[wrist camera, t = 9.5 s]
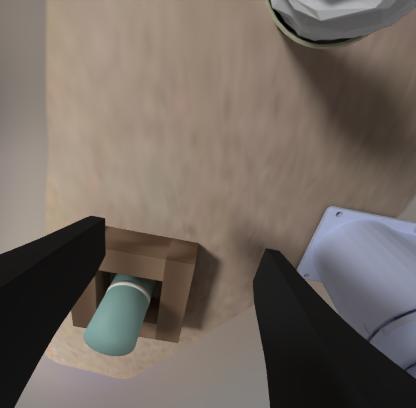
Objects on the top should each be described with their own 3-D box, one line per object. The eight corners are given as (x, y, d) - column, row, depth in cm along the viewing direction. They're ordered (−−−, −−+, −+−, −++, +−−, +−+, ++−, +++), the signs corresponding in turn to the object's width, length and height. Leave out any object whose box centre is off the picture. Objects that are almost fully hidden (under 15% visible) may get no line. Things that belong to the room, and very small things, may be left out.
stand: (198, 243, 21) (195, 265, 19) (182, 317, 26) (178, 342, 24) (82, 221, 21) (62, 241, 18) (88, 301, 26) (73, 325, 23)
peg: (158, 263, 23) (136, 329, 17) (156, 290, 25) (134, 359, 18) (119, 256, 23) (80, 320, 16) (119, 284, 24) (85, 351, 18)
